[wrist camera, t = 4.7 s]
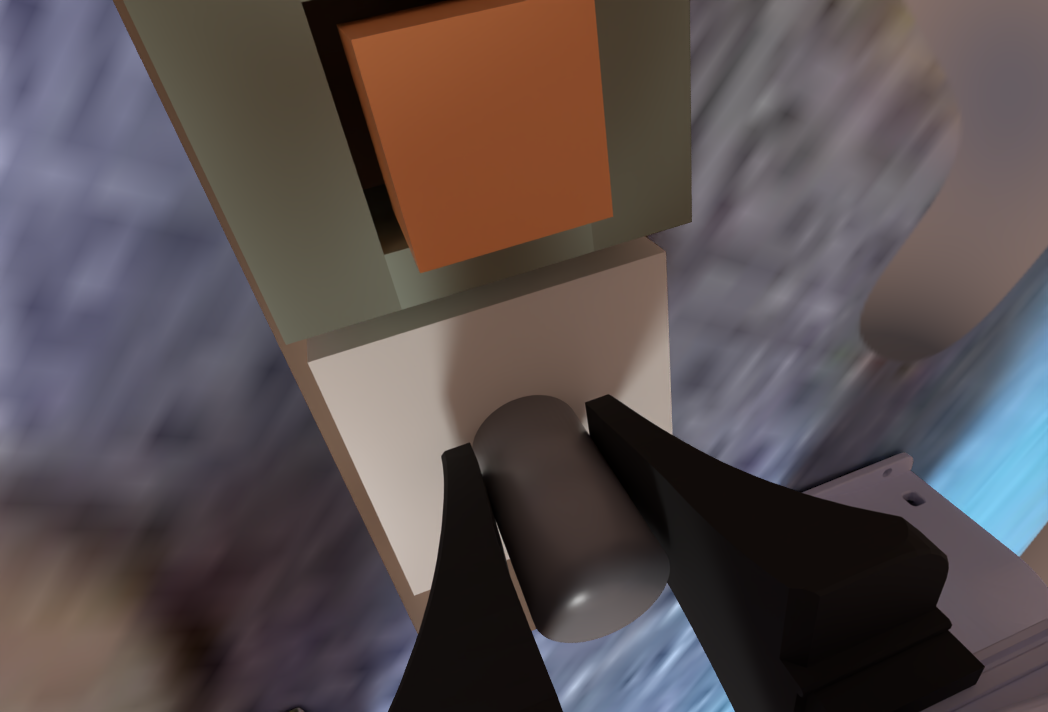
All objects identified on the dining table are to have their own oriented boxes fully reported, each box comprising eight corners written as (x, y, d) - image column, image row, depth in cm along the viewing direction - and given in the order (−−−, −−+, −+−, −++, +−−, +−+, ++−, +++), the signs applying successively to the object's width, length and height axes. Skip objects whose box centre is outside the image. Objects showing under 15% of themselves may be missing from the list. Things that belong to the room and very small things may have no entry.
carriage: (625, 222, 15) (807, 354, 10) (643, 452, 20) (773, 630, 14) (305, 317, 14) (313, 531, 8) (403, 541, 18) (449, 772, 13)
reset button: (519, -16, 10) (593, -14, 7) (546, 167, 11) (613, 216, 9) (336, 24, 9) (350, 39, 7) (392, 208, 11) (419, 273, 9)
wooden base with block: (593, -159, 13) (751, -233, 8) (648, 548, 26) (720, 663, 22) (99, -70, 11) (-28, -102, 7) (428, 636, 25) (457, 779, 20)
